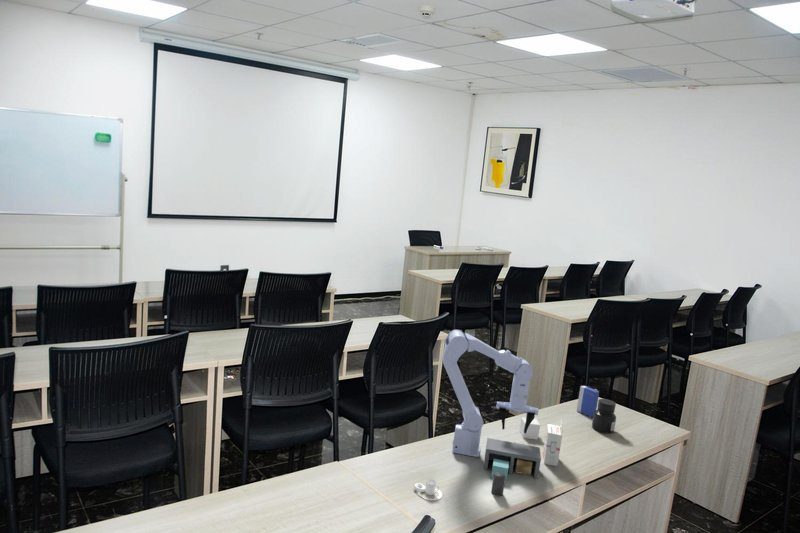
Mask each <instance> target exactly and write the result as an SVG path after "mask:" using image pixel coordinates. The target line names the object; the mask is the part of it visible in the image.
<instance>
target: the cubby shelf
mask: <svg viewBox="0 0 800 533" xmlns="http://www.w3.org/2000/svg"><path fill="white" fill-rule="evenodd" d="M484 452H485V453H484V461H483V469H484V470H488V467H489V466H488V465H489V460H490V461H494V459H498V460H503V461H507V462H509V467H508V475H513V470H514V465H515V463H516V458H520V459H526V460H531V461H532V468H531V469H533V478H534V479H536V480H538V479H539V475H540V474H539V473H540V467H541V460H542V456H541V448H540V446H535V445H529V444H524V443H516V442H513V441H512V442H511V441H508V440H507V441H506V440H500V439H495V438H489V437H487V439H486V445H485V451H484Z"/></svg>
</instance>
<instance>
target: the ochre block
mask: <svg viewBox="0 0 800 533" xmlns="http://www.w3.org/2000/svg"><path fill="white" fill-rule="evenodd" d="M514 465H515V466H514V467H515V473H519V474H525V475H530V476H531V474H532V469H533V468H532V461H531V460H526V459H520V458H516V463H515V464H514Z"/></svg>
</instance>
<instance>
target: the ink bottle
mask: <svg viewBox="0 0 800 533" xmlns="http://www.w3.org/2000/svg"><path fill="white" fill-rule="evenodd" d="M616 405H617V402H615V401H614V400H610V399H607V398H598V403H597V409H596V411H595V412H594V415H593V417H592V422H591V427H592V429H594V430H595V431H597V432H599V431H600V432H599V433H603V432H604V434H613V433H614V432H615V428H616V422H617V415H616V414H615V411H616Z"/></svg>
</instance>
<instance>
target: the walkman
mask: <svg viewBox="0 0 800 533" xmlns="http://www.w3.org/2000/svg"><path fill="white" fill-rule="evenodd" d="M599 396H600V390H598V389H596V388H594V389H593V388H592V387H590V386H586V385H580V387H579V394H578V399H577V400H578V401H577V405H576V406H577V407H576V412H577V411H579V412H581V413H580V414H582V413H583V414H582V415H584V414H586V415H585V416H587V415H588V416H587V417H589V416H590V417H589V418H593V415H594V412H595V411H596V410H597V409H598V401H599ZM579 412H578V413H579Z"/></svg>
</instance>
